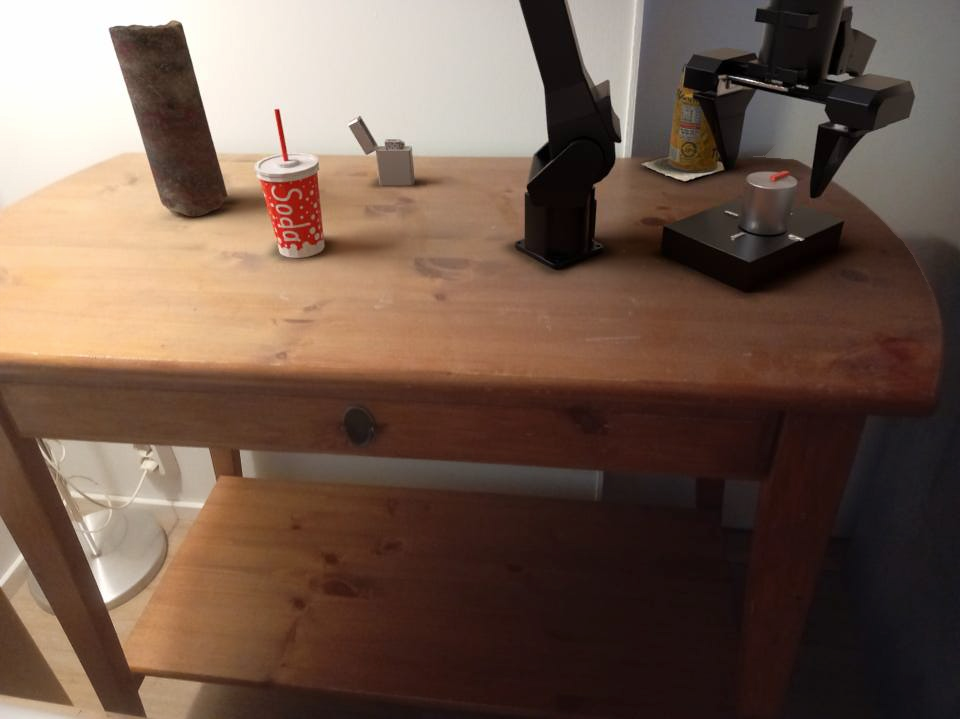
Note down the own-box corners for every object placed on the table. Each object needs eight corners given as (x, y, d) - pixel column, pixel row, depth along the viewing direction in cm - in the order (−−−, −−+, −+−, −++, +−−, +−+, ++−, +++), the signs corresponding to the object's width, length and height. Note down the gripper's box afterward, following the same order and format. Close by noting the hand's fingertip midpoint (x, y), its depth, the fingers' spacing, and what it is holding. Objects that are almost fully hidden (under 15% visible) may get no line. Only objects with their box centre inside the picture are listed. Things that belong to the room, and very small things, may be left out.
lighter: (414, 180, 91) (409, 114, 87) (412, 185, 90) (406, 118, 86) (358, 180, 92) (350, 115, 88) (355, 185, 91) (346, 119, 86)
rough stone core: (147, 213, 85) (91, 26, 74) (190, 191, 91) (144, 13, 80) (201, 221, 83) (150, 28, 72) (241, 198, 88) (200, 16, 77)
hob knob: (767, 239, 67) (778, 188, 64) (728, 224, 70) (736, 175, 67) (797, 227, 69) (808, 177, 66) (758, 212, 72) (767, 164, 70)
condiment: (732, 167, 92) (749, 65, 85) (684, 182, 88) (697, 77, 81) (688, 152, 97) (700, 55, 90) (641, 166, 93) (650, 66, 86)
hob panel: (747, 293, 65) (753, 261, 63) (659, 254, 72) (663, 224, 70) (840, 250, 72) (848, 219, 70) (751, 217, 79) (757, 189, 77)
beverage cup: (259, 257, 75) (229, 116, 67) (292, 232, 79) (267, 99, 72) (312, 264, 73) (287, 121, 65) (342, 239, 77) (322, 102, 70)
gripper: (980, -7, 56) (918, 190, 65) (771, -26, 69) (743, 140, 77) (900, 11, 51) (844, 223, 59) (689, -14, 64) (669, 164, 72)
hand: (770, 182), depth 67 cm, fingers open, 9 cm apart
